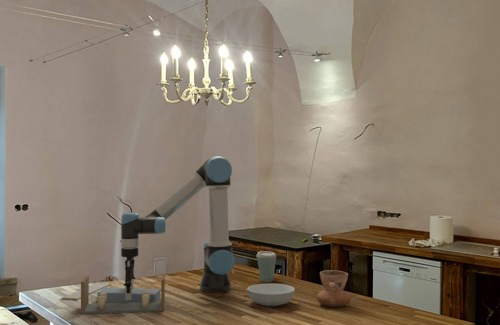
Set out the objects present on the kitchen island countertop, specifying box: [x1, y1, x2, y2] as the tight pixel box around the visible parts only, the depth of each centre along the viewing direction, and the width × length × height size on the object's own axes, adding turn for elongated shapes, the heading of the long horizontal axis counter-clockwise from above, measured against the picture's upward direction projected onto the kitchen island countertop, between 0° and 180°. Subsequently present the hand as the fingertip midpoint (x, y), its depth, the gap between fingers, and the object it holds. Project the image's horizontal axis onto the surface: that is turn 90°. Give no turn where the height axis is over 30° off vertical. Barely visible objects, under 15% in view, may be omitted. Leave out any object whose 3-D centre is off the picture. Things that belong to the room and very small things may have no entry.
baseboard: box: [60, 280, 111, 301], centre depth 246 cm, size 30×3×10 cm
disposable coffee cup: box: [256, 250, 277, 283], centre depth 271 cm, size 11×11×15 cm
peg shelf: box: [80, 273, 166, 315], centre depth 217 cm, size 12×33×13 cm, turn 99°
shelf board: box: [97, 287, 161, 303], centre depth 231 cm, size 9×26×4 cm, turn 83°
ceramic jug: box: [316, 269, 351, 308], centre depth 226 cm, size 18×14×14 cm
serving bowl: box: [247, 283, 296, 307], centre depth 227 cm, size 21×21×7 cm
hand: (129, 297), depth 231 cm, fingers closed on shelf board, 10 cm apart
